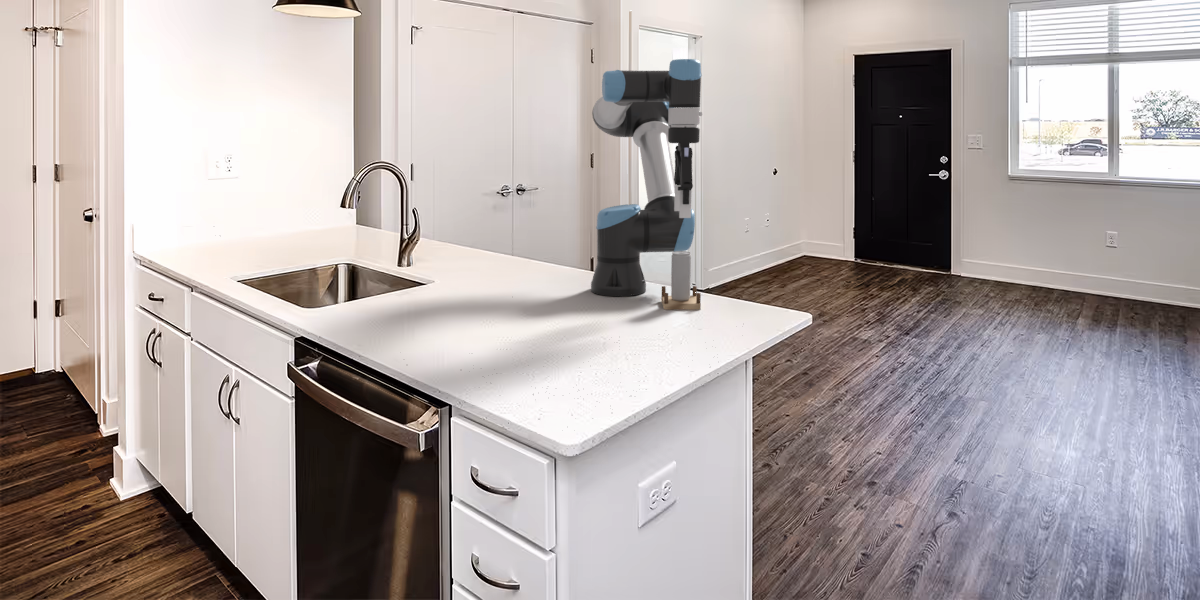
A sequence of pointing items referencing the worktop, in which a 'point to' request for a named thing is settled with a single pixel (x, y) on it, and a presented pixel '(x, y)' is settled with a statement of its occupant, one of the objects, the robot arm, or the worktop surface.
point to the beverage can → (680, 275)
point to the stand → (681, 305)
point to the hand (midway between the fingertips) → (682, 214)
